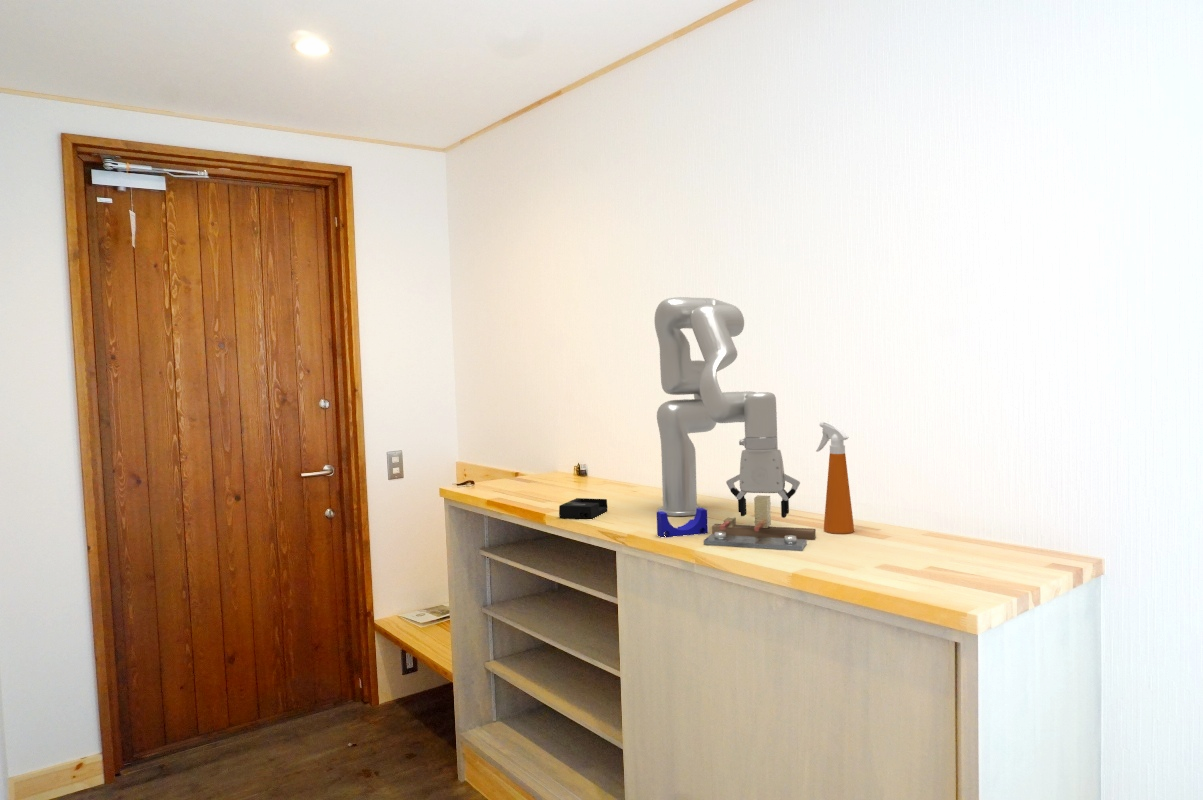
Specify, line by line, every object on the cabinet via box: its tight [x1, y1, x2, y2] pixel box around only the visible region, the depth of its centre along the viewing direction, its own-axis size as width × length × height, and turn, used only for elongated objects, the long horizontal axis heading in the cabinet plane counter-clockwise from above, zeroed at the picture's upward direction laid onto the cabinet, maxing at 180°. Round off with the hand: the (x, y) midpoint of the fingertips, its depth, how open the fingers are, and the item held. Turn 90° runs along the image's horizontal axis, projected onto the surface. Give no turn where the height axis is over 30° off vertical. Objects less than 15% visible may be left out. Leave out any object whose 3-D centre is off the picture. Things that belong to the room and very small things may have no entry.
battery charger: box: [558, 497, 608, 520], centre depth 220 cm, size 13×10×4 cm
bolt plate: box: [703, 532, 808, 552], centre depth 178 cm, size 7×22×2 cm, turn 67°
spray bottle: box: [815, 421, 855, 535], centre depth 190 cm, size 7×11×26 cm, turn 25°
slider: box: [753, 494, 772, 531], centre depth 184 cm, size 10×3×7 cm, turn 157°
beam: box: [711, 516, 817, 541], centre depth 184 cm, size 10×24×4 cm, turn 67°
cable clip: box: [656, 507, 709, 538], centre depth 191 cm, size 12×4×6 cm, turn 106°
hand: (763, 516), depth 186 cm, fingers open, 9 cm apart
